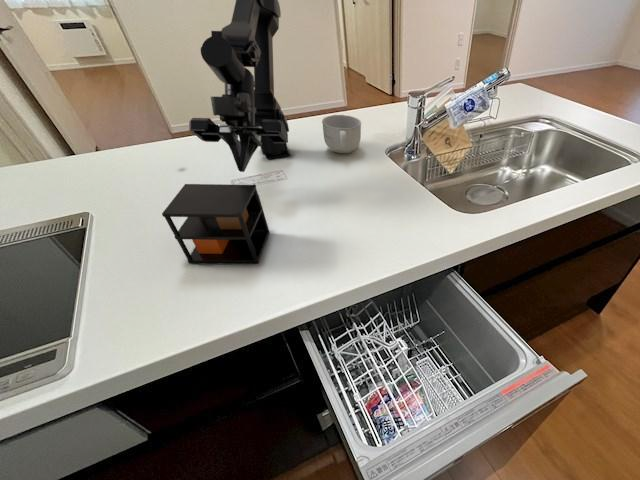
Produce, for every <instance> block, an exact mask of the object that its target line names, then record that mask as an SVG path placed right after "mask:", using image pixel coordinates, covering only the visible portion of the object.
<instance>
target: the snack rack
mask: <svg viewBox="0 0 640 480" xmlns="http://www.w3.org/2000/svg"><path fill="white" fill-rule="evenodd" d="M161 215H162V217H164V219H165V221H166V222H167V225H168V226H169V228H170V231H171V232H172V234H173V236H174V239H175V240H176V241H177V243H178V245H179V246H180V248H181V250H182V252H183V253H184V255H185V257H186V259H187V263H188V264H189V265H191V264H197V265H199V264H200V265H201V264H203V265H204V264H206V265H211V264H214V265H215V264H216V265H217V264H219V265H222V264H227V265H229V264H230V265H233V264H234V265H245V264H246V265H258V264H259V263H260V261H261V259H262V255H263V253H264V249H265V248H266V244H267V242H268V239H269V236H270V234H271V233H270V228H269V225H268V222H267V219H266V218H267V217H266V215H265V212H264V209H263V205H262V202H261V198H260V194H259V193H258V189H257V185H256V184H218V183H217V184H214V183H213V184H211V183H209V184H208V183H185V184H183V186H182V187H181V188H180V190H179V191H178V193H176V195H175V196H174V197H173V199H172V200H171V201H170V203H169V204H168V205H167V207H166V208H165V209H163V212H162V213H161ZM172 218H186V219H185V220H184V222H183V224H181V226H180V228H179V229H177V227H176V225H175V223H174V221H173V219H172ZM184 240H191V241H192V242H193V244H194V246H195V247H194V248H193V250H192V252H191V253H190V251H189V249H188V247H187V245H186V243H185V242H184Z"/></svg>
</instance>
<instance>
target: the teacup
mask: <svg viewBox="0 0 640 480" xmlns="http://www.w3.org/2000/svg"><path fill="white" fill-rule="evenodd" d="M321 123H322V132H323V134H322V135H323V141H324V143H325V145H326V146H327V147H328V148H329V149H330V150H331V151H333V152H334V153H336V154H337V153H338V154H350V153H352V152H354V151H355V150H356V149H357V148H358V147H359V146H360V144H361V136H362V135H361V134H362V121H361V120H360V119H359V118H357V117H356V116H351V115H346V114H333V115H327V116H325V117H323V118H322V120H321Z"/></svg>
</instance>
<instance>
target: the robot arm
mask: <svg viewBox="0 0 640 480" xmlns="http://www.w3.org/2000/svg"><path fill="white" fill-rule="evenodd" d="M280 18H281V6H280V2H279V0H235V4H234V7H233V12H232V17H231V21H230V23H229V24H227V25H226V26H224V27H222V29H220V30H211V32H210V35H211V36H209V37H208V38H206V39H205V40H204V41H203V42H202V44H201V47H200V55H201V58H202V60H203V61H204V63H205V64H206V65H207V66H208V67H209V69H210V70H211V71H212V72H213V73H214V75H215V76H216V77H217V79H218V80H219V81H220V82H222V83H223V84H224V94H223V93H222V94H221V96H210V103H211V108H212V114H213V116H219V120H220V121H221V122H222V123H218V124H216V123H215V122H214V121H213V120H212V119H211V118H210V117H192V118H191V119H190V120H189V123H188V126H189V127H188V130H189V132H191V133H192V134H193V135H194V136H195V137H197V138H198V139H199V140H201V141H202V142H206V143H218V142H220V140H222V141H223V142H225V144H227V145H228V147H229V149H230V151H231V154H232V157H233V159H234V162H235V164H236V167H237V170H238V172H240V173H244V172H245V171H246V169H247V167H248V165H249V163H250V160H251V159H252V156H253V155H254V154H255V152H256V151H257V149H258V147H259V148H260V151H261V153H262V155H263V156H264V157H265V159H266V160H272V159H279V158H285V157H290V156H291V153H290V152H289V150H288V144H287V143H289V135H288V134H289V132H290V128H289V123H288V119H287V117H286V116H285V114H284V112H283V110H282V107H281V105H280V104H279V102H278V100H277V99H276V97H275V83H274V82H275V81H274V80H275V79H274V76H275V75H274V46H273V44H274V43H273V39H274V36H275V35H276V33H277V32H278V30H279V29H280ZM249 68H253V73H254V74H252V72H251V70H249Z"/></svg>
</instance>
